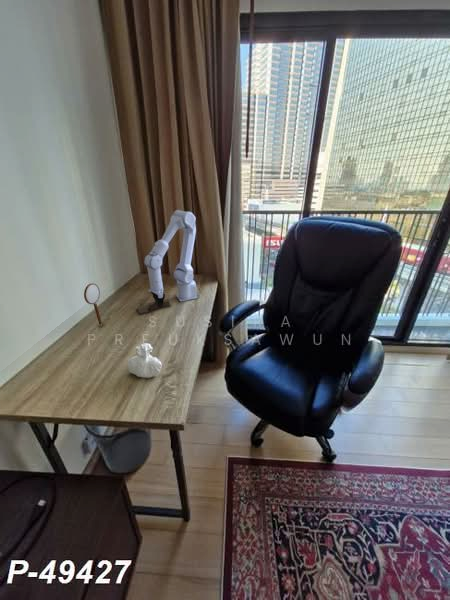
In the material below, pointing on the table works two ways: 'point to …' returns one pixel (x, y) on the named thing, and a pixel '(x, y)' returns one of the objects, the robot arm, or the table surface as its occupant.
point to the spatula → (153, 306)
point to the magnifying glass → (93, 298)
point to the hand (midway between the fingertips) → (159, 305)
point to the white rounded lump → (144, 362)
